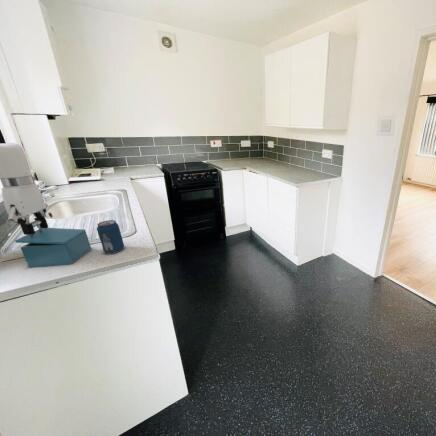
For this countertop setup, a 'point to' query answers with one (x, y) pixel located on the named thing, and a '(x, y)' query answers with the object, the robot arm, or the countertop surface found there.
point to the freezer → (56, 252)
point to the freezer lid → (50, 235)
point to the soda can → (110, 236)
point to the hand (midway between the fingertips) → (36, 230)
